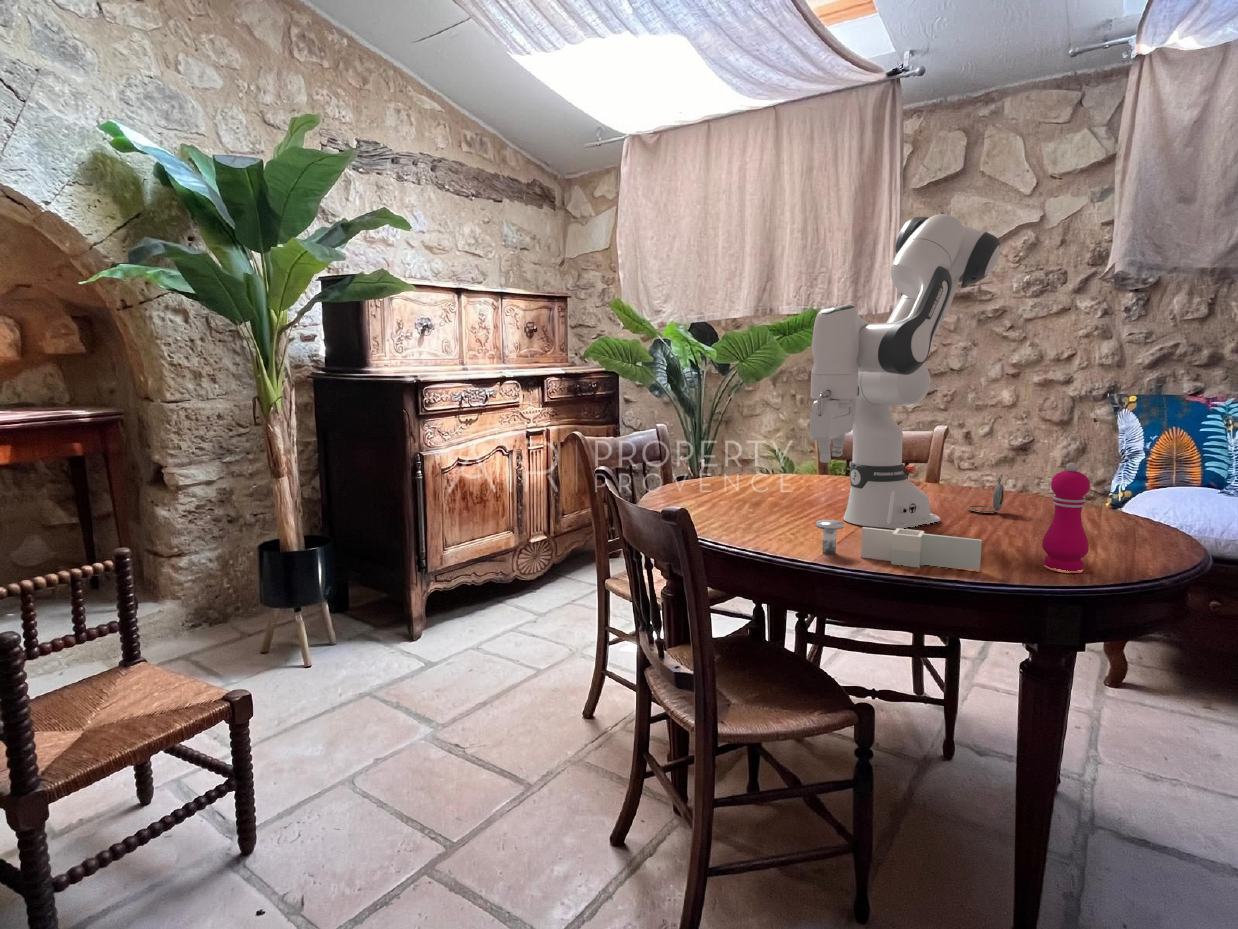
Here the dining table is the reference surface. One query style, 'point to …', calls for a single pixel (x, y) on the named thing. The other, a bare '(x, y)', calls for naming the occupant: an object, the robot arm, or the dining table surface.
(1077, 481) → the pepper mill
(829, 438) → the robot arm
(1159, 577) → the dining table surface
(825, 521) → the hinge pin
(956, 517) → the dining table surface
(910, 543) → the hinge
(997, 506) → the pocket watch
